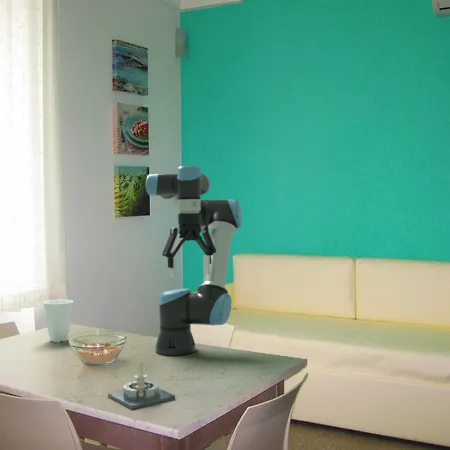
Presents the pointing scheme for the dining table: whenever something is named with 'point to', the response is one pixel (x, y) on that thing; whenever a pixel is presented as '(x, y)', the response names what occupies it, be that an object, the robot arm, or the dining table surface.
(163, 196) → the robot arm
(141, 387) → the candle
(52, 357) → the dining table surface
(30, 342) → the dining table surface
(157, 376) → the dining table surface
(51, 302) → the cup
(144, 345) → the dining table surface
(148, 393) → the ring stand
